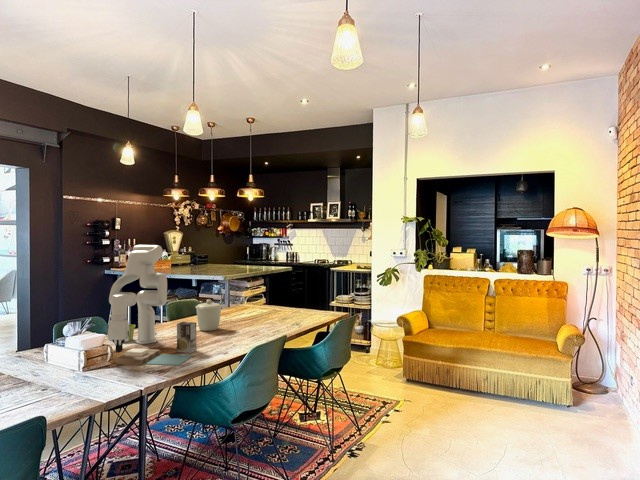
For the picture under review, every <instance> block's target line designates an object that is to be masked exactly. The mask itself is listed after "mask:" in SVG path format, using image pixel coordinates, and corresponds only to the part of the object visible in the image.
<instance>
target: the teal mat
mask: <svg viewBox="0 0 640 480" xmlns="http://www.w3.org/2000/svg"><path fill="white" fill-rule="evenodd" d="M192 357H193V354H173V353H172V354H170V353H167V354H166V353H160V355H158V356H156V357H154V358H153V359H151V360H149V361H148V362H146V363H144V365H148V366H149V365H150V366H151V365H154V366H155V365H156V366H173V367H174V366H177V367H179V366H180V365H182V364H184V363H185V362H186V361H188V360H189V359H190V358H192Z"/></svg>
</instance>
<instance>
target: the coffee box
mask: <svg viewBox="0 0 640 480" xmlns="http://www.w3.org/2000/svg"><path fill="white" fill-rule="evenodd" d="M196 351H197V322H196V321H195V322H193V321H181V322H179V323H176V352H177V353H187V354H189V353H190V354H192V353H194V352H196Z"/></svg>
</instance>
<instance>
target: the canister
mask: <svg viewBox="0 0 640 480" xmlns="http://www.w3.org/2000/svg"><path fill="white" fill-rule="evenodd" d="M222 307H223V305H222V304H220V303H219V302H218V303H217V302H212V300H211V299H206V302H203V303H199V304H197V305H196V306H195V309H196V315H197V317H196V318H197V325H198V328H199V330H200V331H204V332H213V331H216V330H218V328H219V327H220V321H221V320H220V319H221V313H222Z"/></svg>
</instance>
